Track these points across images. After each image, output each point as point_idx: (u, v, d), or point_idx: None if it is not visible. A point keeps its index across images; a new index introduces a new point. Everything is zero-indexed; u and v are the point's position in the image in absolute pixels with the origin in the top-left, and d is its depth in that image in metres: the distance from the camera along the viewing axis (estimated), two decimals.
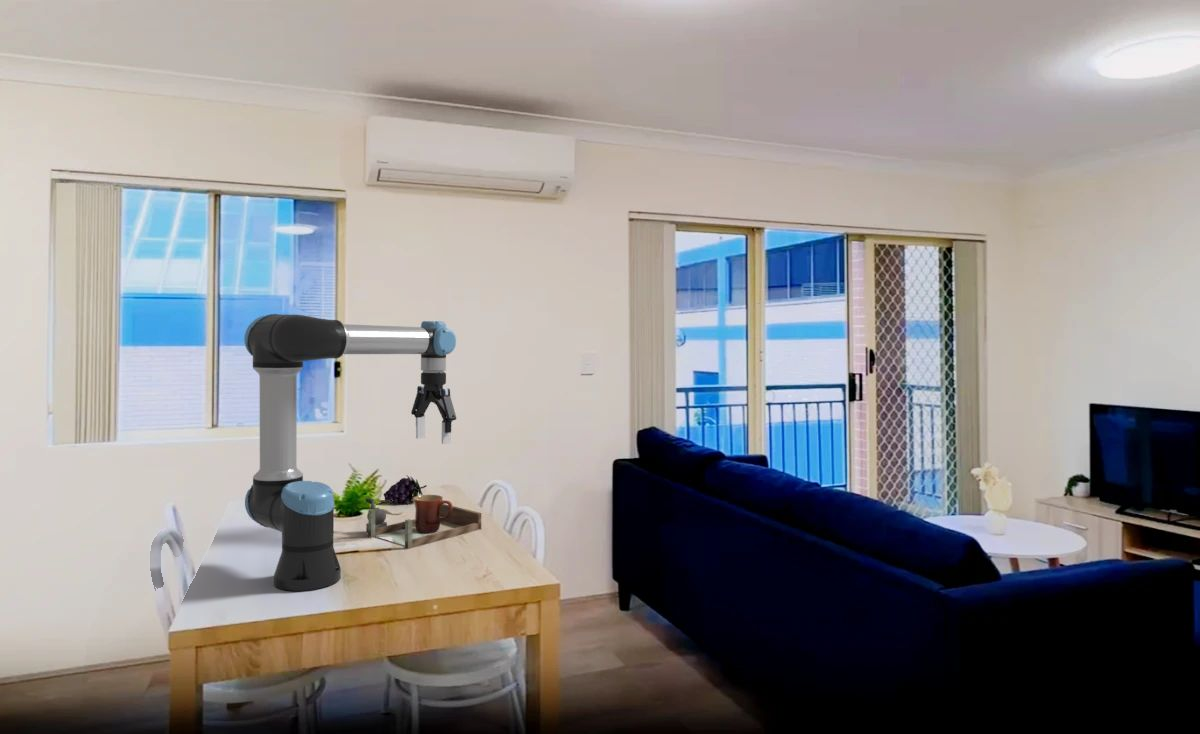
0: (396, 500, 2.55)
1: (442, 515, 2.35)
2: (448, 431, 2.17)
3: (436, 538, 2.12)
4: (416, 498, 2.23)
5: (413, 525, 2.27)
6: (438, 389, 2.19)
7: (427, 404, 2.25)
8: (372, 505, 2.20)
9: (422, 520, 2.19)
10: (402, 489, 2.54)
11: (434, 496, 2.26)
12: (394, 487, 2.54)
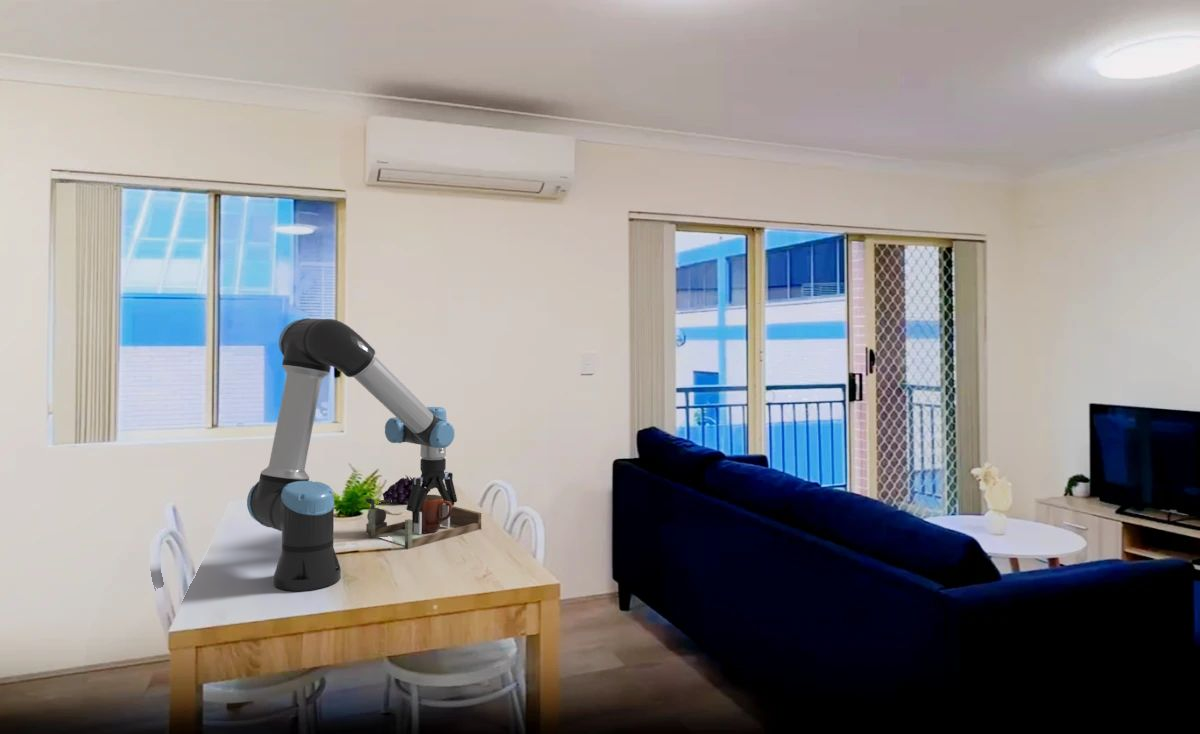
0: (395, 500, 2.55)
1: None
2: (413, 521, 2.17)
3: (436, 538, 2.12)
4: None
5: (413, 525, 2.27)
6: None
7: (441, 491, 2.24)
8: (372, 505, 2.20)
9: (422, 520, 2.19)
10: (401, 489, 2.54)
11: (434, 496, 2.26)
12: (393, 487, 2.54)
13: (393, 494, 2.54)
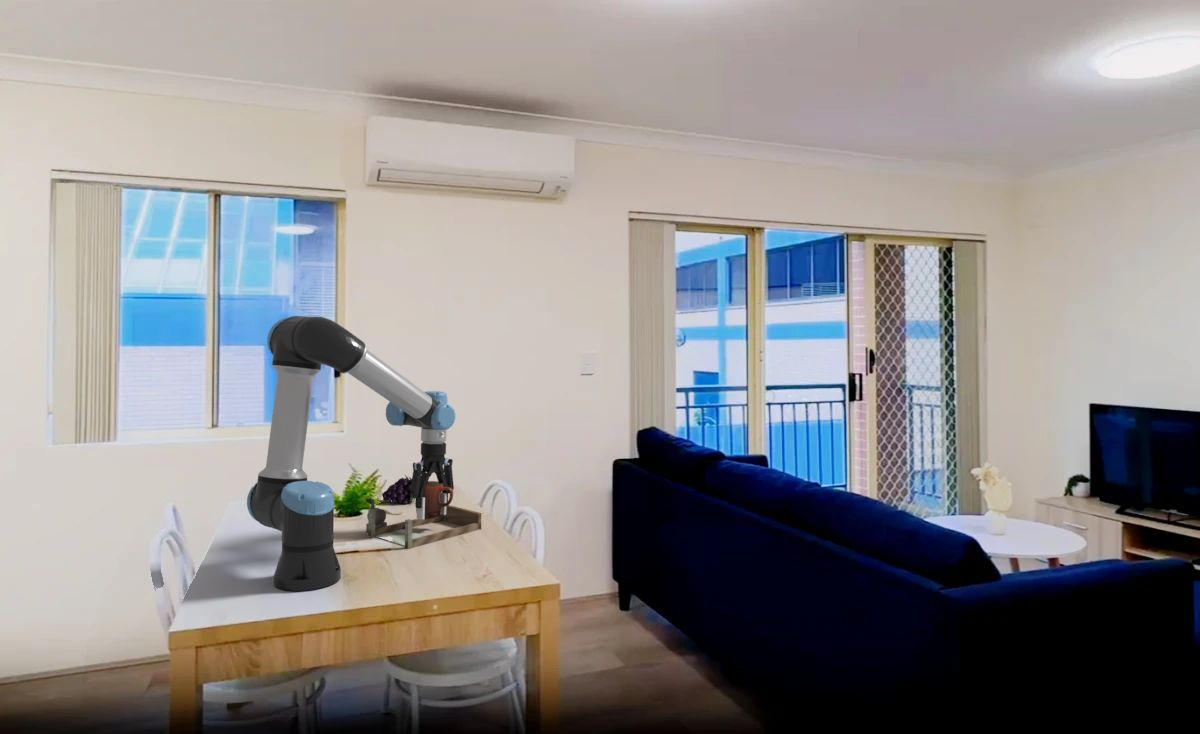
0: (394, 500, 2.55)
1: (442, 515, 2.35)
2: (416, 506, 2.18)
3: (436, 538, 2.12)
4: None
5: (413, 525, 2.27)
6: None
7: (440, 477, 2.23)
8: (372, 505, 2.20)
9: None
10: (400, 489, 2.54)
11: (435, 482, 2.26)
12: (393, 487, 2.54)
13: (392, 494, 2.54)
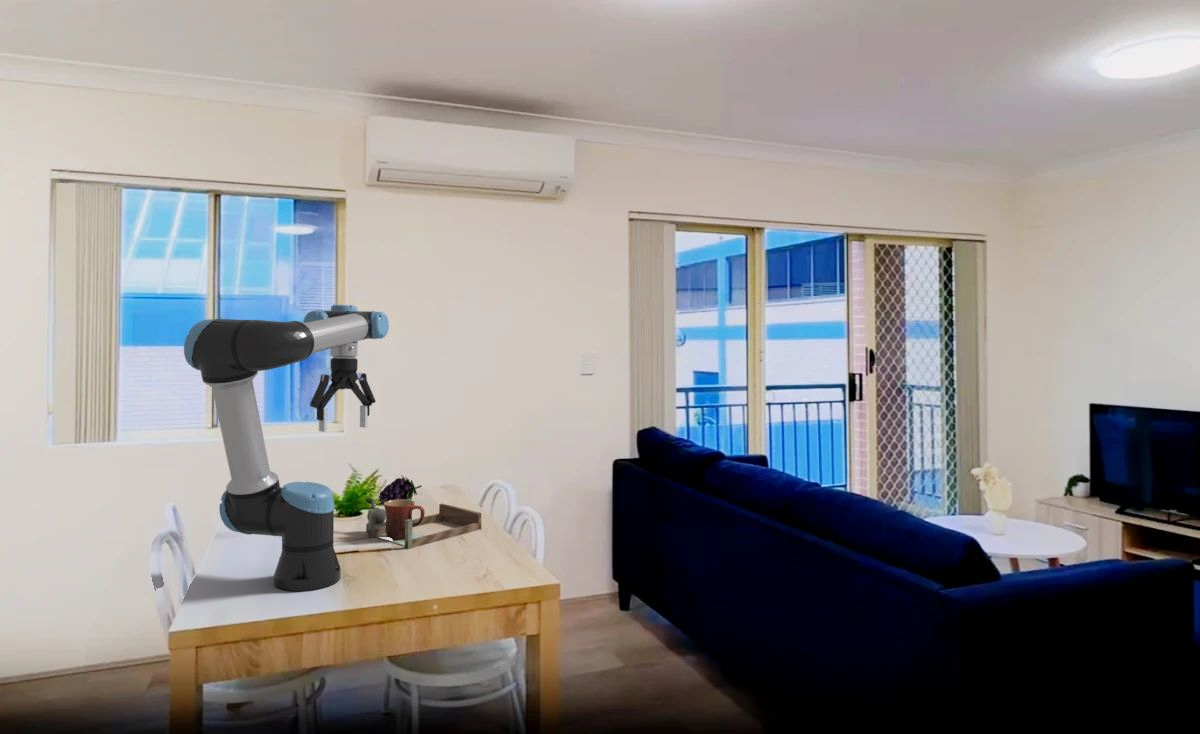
0: None
1: (442, 515, 2.35)
2: (317, 418, 2.08)
3: (436, 538, 2.12)
4: (387, 503, 2.15)
5: None
6: (330, 375, 2.11)
7: (356, 392, 2.17)
8: (372, 505, 2.20)
9: (392, 526, 2.11)
10: (397, 489, 2.54)
11: (406, 501, 2.18)
12: (389, 487, 2.54)
13: (389, 494, 2.53)
